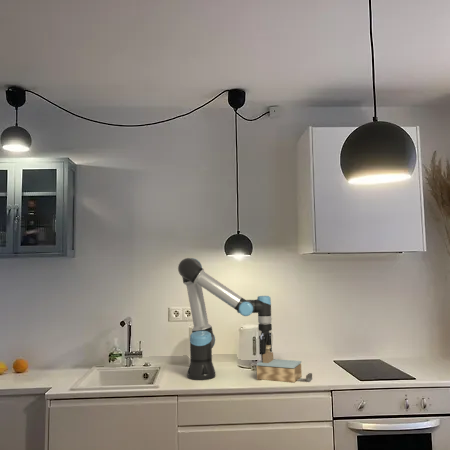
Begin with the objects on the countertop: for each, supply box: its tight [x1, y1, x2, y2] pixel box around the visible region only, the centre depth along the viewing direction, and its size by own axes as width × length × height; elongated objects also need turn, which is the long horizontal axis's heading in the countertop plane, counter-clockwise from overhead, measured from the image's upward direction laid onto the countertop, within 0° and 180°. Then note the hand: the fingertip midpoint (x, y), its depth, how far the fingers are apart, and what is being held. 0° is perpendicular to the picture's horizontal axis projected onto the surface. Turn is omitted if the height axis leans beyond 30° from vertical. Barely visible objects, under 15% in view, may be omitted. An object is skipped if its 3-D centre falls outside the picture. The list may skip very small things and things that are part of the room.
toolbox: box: [256, 363, 313, 384], centre depth 231 cm, size 26×13×7 cm, turn 64°
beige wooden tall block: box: [266, 345, 271, 353], centre depth 252 cm, size 4×4×14 cm
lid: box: [256, 351, 302, 368], centre depth 233 cm, size 20×13×5 cm, turn 64°
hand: (266, 364), depth 252 cm, fingers open, 6 cm apart
